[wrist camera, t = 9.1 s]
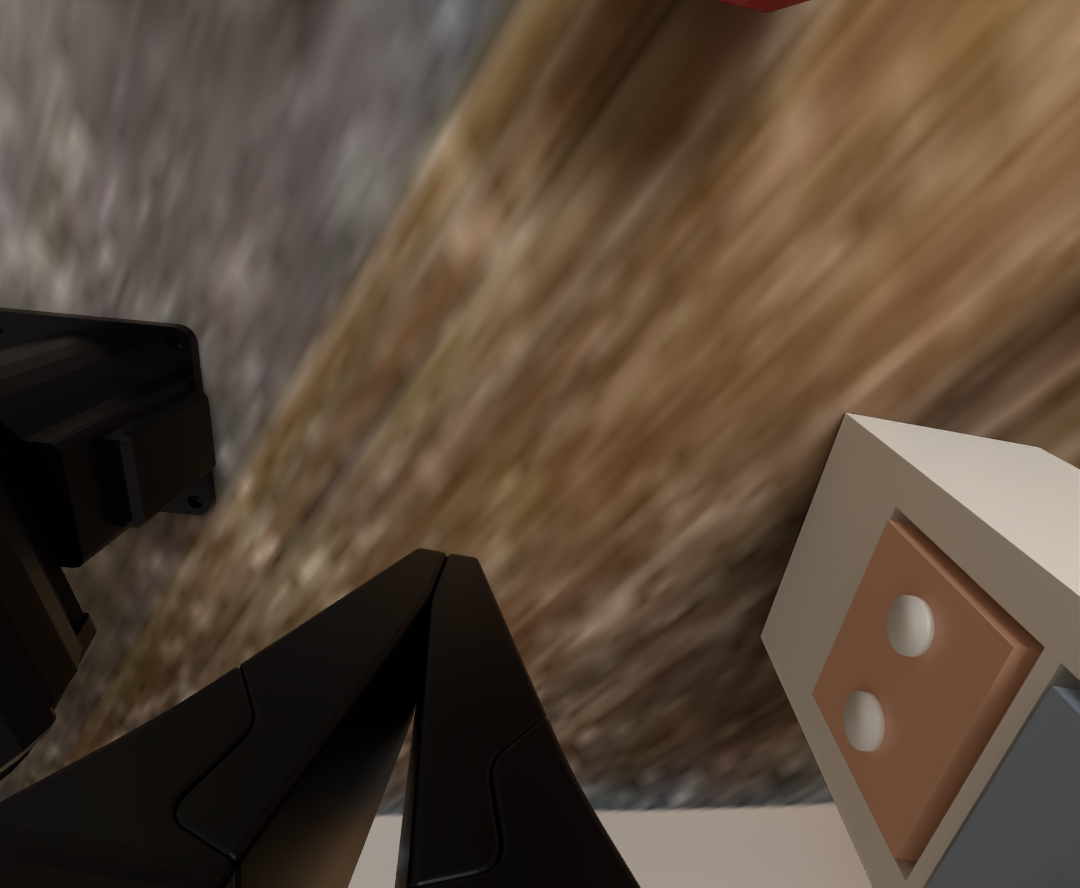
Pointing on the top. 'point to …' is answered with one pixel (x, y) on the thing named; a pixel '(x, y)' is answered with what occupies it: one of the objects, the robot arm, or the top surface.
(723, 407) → the top surface
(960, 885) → the upper drawer
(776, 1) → the onion
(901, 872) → the box
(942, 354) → the top surface
